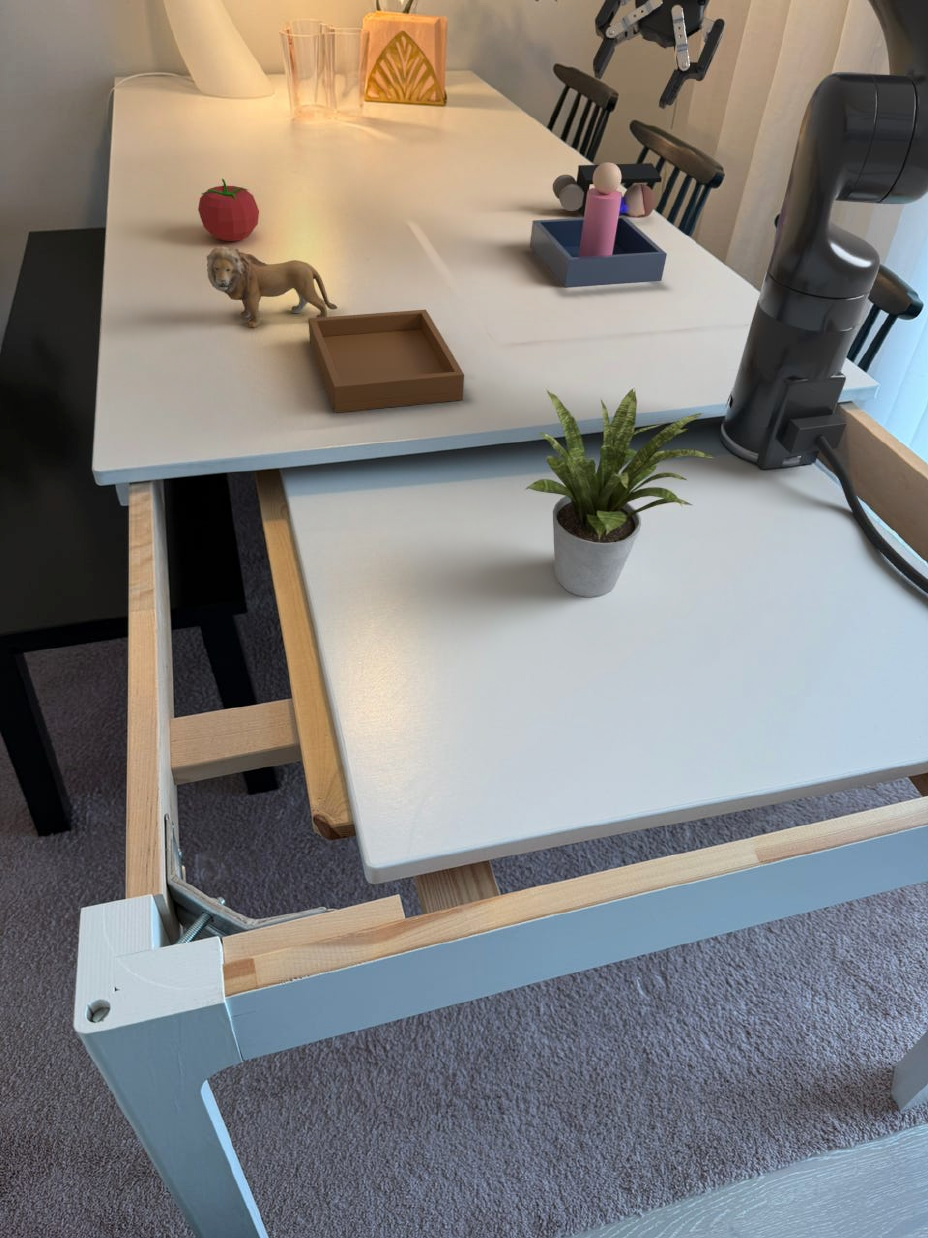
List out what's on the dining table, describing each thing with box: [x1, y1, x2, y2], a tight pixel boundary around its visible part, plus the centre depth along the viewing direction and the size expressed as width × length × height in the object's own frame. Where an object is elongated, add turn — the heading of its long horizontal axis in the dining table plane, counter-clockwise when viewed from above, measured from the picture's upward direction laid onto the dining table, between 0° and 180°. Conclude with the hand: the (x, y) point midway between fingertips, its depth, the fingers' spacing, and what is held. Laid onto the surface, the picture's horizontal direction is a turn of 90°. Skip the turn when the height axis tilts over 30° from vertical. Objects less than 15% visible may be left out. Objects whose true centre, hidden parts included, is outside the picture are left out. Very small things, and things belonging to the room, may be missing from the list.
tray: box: [307, 309, 465, 414], centre depth 100 cm, size 16×14×3 cm
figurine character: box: [552, 162, 663, 218], centre depth 137 cm, size 7×8×15 cm
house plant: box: [524, 388, 716, 598], centre depth 71 cm, size 14×14×16 cm
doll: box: [578, 161, 623, 257], centre depth 120 cm, size 4×4×13 cm
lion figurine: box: [206, 246, 338, 329], centre depth 106 cm, size 15×5×9 cm, turn 113°
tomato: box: [197, 178, 260, 242], centre depth 123 cm, size 8×8×8 cm
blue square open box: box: [529, 215, 668, 289], centre depth 123 cm, size 14×14×4 cm
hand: (629, 90), depth 109 cm, fingers open, 8 cm apart
